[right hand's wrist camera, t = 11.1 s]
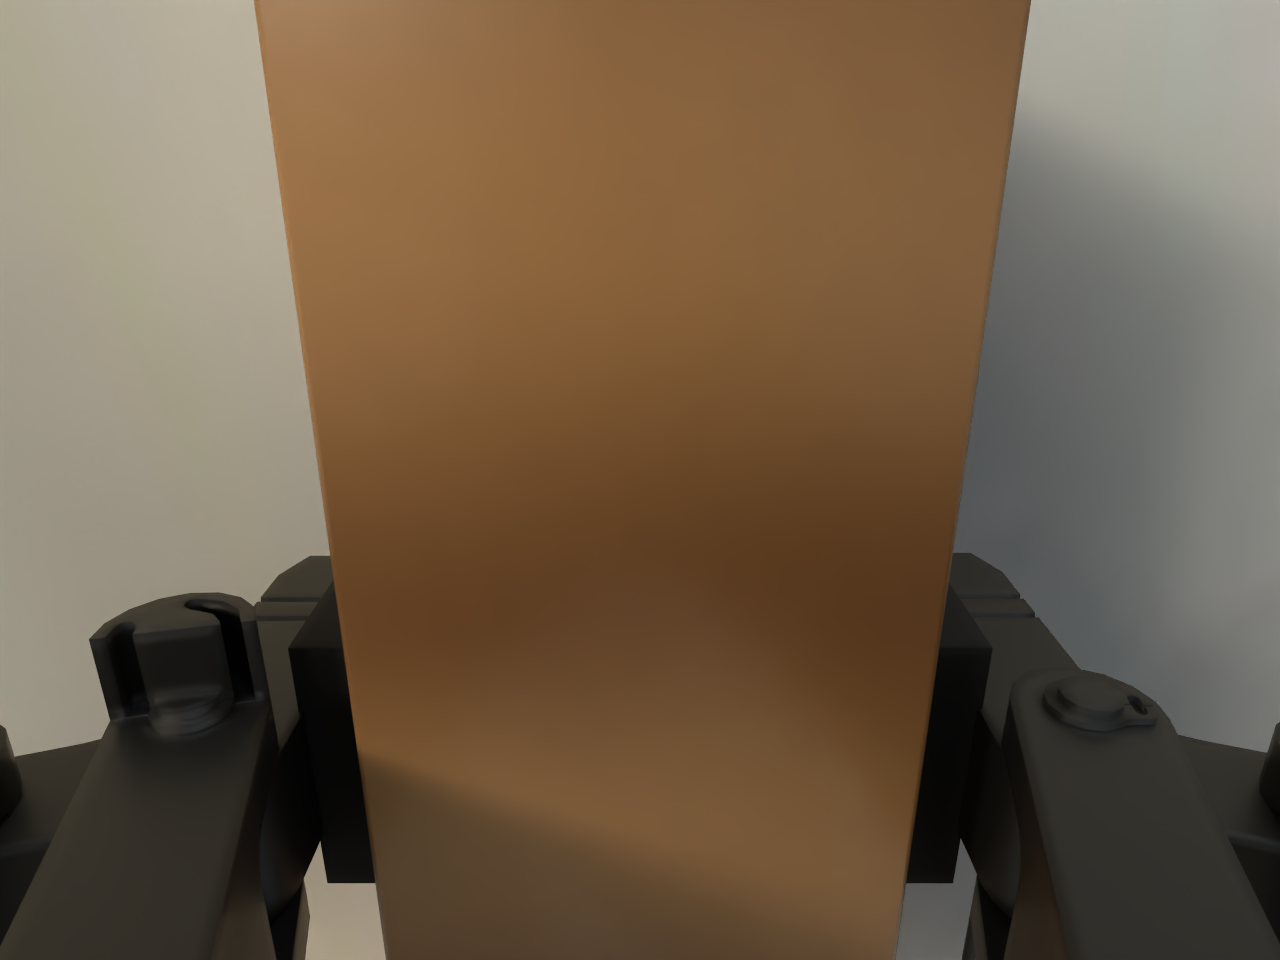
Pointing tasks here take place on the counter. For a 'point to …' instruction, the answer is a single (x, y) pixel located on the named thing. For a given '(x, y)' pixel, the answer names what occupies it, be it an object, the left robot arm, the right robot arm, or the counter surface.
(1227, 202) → the counter surface
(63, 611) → the counter surface
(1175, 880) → the right robot arm
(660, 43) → the post
